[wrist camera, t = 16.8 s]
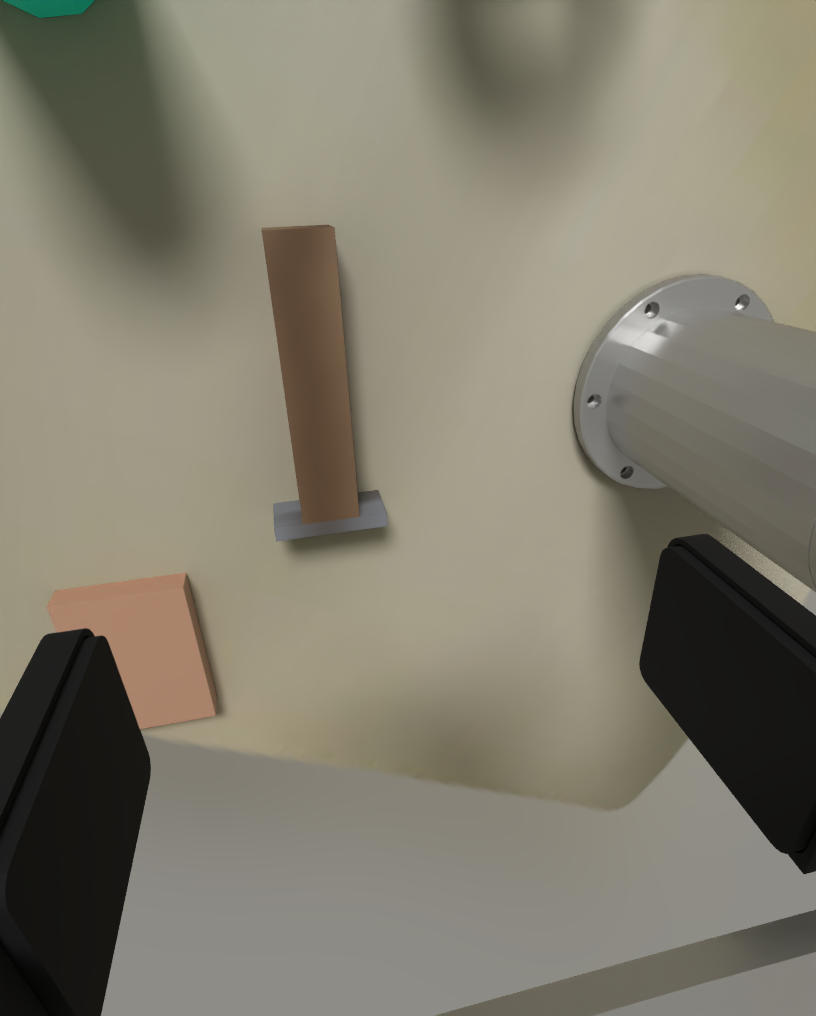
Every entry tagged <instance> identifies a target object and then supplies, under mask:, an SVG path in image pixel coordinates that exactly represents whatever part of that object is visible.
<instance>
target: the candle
mask: <svg viewBox="0 0 816 1016" xmlns="http://www.w3.org/2000/svg"><path fill="white" fill-rule="evenodd" d="M3 1H5V2H7V3H9V4H11V5H13V6H15V7H17V8H19V9H21V10H23V11H26V12H28V13H30V14H32V15H34V16H36V17H38V18H46V17H55V16H65V15H74V14H83V12H84V11H85V10H86V9H87V8H88V7H89V6H90V5H91V4H92V3H93V2H94V1H95V0H3Z"/></svg>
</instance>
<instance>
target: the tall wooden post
mask: <svg viewBox="0 0 816 1016" xmlns="http://www.w3.org/2000/svg"><path fill="white" fill-rule="evenodd" d="M262 235H263V242H264V249H265V257H266V264H267V271H268V278H269V285H270V292H271V299H272V307H273V314H274V321H275V328H276V335H277V342H278V349H279V356H280V364H281V371H282V378H283V385H284V392H285V399H286V406H287V414H288V421H289V428H290V435H291V442H292V449H293V456H294V464H295V471H296V478H297V485H298V492H299V499H300V500H297V501H290V502H282V503H274V504H273V507H274V531H275V537H276V541H284V540H291V539H298V538H305V537H312V536H319V535H327V534H334V533H341V532H348V531H355V530H362V529H369V528H377V527H384V526H388V522H387V512H386V509H385V507H384V504H383V502H382V499H381V497H380V494H379V491H378V490H375V491H367V492H360V493H357V483H356V471H355V460H354V448H353V437H352V425H351V414H350V402H349V391H348V379H347V367H346V356H345V344H344V333H343V321H342V310H341V298H340V287H339V275H338V264H337V252H336V241H335V229H334V227H332V226H330V225H314V226H294V227H274V228H262Z"/></svg>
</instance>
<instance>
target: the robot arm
mask: <svg viewBox="0 0 816 1016" xmlns="http://www.w3.org/2000/svg"><path fill="white" fill-rule="evenodd" d="M645 308H646V309H645ZM589 397H590V398H589ZM588 398H589V399H588ZM573 404H574V424H575V428H576V432H577V436H578V440H579V442H580V444H581V446H582V448H583V450H584V452H585V454H586V455H587V457H588V458H589V459H590V460H591V461H592V463H593V464H594V465H595V466H596V467H597V468H598V469H600V470H601V471H602V472H603V473H605V474H606V475H607V476H608V477H610V478H611V479H613V480H615V481H616V482H618V483H620V484H623V485H627V486H630V487H634V488H638V489H660V488H667V487H669V488H670V489H672V490H673V491H675V492H676V493H677V494H679V495H680V496H682V497H683V498H684V499H686V500H687V501H689V502H690V503H691V504H693V505H694V506H696V507H697V508H698V509H700V510H701V511H703V512H704V513H705V514H707V515H708V516H710V517H711V518H712V519H714V520H715V521H717V522H718V523H719V524H721V525H722V526H724V527H725V528H726V529H728V530H729V531H731V532H732V533H733V534H735V535H736V536H738V537H739V538H740V539H742V540H743V541H745V542H746V543H747V544H749V545H750V546H752V547H753V548H754V549H756V550H757V551H759V552H760V553H761V554H763V555H764V556H766V557H767V558H768V559H770V560H771V561H773V562H774V563H775V564H777V565H778V566H780V567H781V568H782V569H784V570H785V571H787V572H788V573H789V574H791V575H792V576H794V577H795V578H796V579H798V580H799V581H801V582H802V583H803V584H805V585H806V586H808V587H809V588H810V589H812V590H813V591H815V592H816V332H814V331H810V330H806V329H801V328H797V327H793V326H789V325H785V324H781V323H777V322H774V319H773V318H772V316H771V314H770V312H769V310H768V308H767V306H766V304H765V303H764V302H763V301H762V300H761V298H760V297H759V296H758V295H757V294H756V293H755V292H754V291H753V290H751V289H750V288H748V287H746V286H745V285H743V284H742V283H740V282H737V281H734V280H731V279H727V278H724V277H720V276H712V275H705V274H698V275H685V276H680V277H676V278H673V279H670V280H666V281H663V282H661V283H659V284H657V285H655V286H653V287H651V288H649V289H647V290H645V291H643V292H642V293H640V294H639V295H637V296H636V297H635V298H633V299H632V300H631V301H629V302H628V303H627V304H625V305H624V306H623V307H622V308H621V309H620V310H619V311H618V312H617V313H616V314H615V315H614V316H613V317H612V318H611V319H610V320H609V321H608V322H607V324H606V325H605V327H604V328H603V329H602V331H601V332H600V334H599V335H598V336H597V338H596V339H595V340H594V342H593V344H592V346H591V348H590V350H589V352H588V354H587V356H586V358H585V360H584V362H583V364H582V368H581V371H580V374H579V377H578V380H577V383H576V390H575V397H574V403H573ZM639 665H640V671H641V674H642V677H643V679H644V680H645V682H646V683H647V685H648V686H649V687H650V689H651V690H652V691H653V692H654V694H655V695H656V696H657V698H658V699H659V700H660V701H661V703H662V704H663V705H664V707H665V708H666V709H667V710H668V712H669V713H670V714H671V716H672V717H673V718H674V719H675V721H676V722H677V723H678V725H679V726H680V727H681V728H682V730H683V731H684V732H685V734H686V735H687V736H688V737H689V739H690V740H691V741H692V742H693V744H694V745H695V746H696V748H697V749H698V750H699V752H700V753H701V754H702V755H703V757H704V758H705V759H706V761H707V762H708V763H709V764H710V766H711V767H712V768H713V769H714V771H715V772H716V773H717V775H718V776H719V777H720V778H721V780H722V781H723V782H724V784H725V785H726V786H727V787H728V789H729V790H730V791H731V793H732V794H733V795H734V796H735V798H736V799H737V800H738V802H739V803H740V804H741V805H742V807H743V808H744V809H745V811H746V812H747V813H748V814H749V816H750V817H751V818H752V820H753V821H754V822H755V823H756V825H757V826H758V827H759V829H760V830H761V831H762V832H763V834H764V835H765V836H766V838H767V839H768V840H769V841H770V843H771V844H772V845H773V846H774V847H775V848H776V849H778V850H779V851H780V852H782V853H785V854H788V855H789V856H790V857H791V859H792V860H793V861H794V862H795V864H796V865H797V866H798V868H799V869H800V870H801V871H802V873H803V874H807V873H811V872H814V871H816V616H815V615H814V614H813V613H812V612H810V611H808V610H807V609H806V608H805V607H804V606H802V605H801V604H800V603H798V602H797V601H796V600H794V599H793V598H792V597H791V596H789V595H788V594H787V593H785V592H784V591H783V590H781V589H780V588H779V587H777V586H776V585H775V584H773V583H772V582H771V581H770V580H768V579H767V578H766V577H764V576H763V575H762V574H760V573H759V572H758V571H756V570H755V569H754V568H752V567H751V566H750V565H749V564H747V563H746V562H745V561H743V560H742V559H741V558H739V557H738V556H737V555H735V554H734V553H733V552H731V551H730V550H729V549H728V548H726V547H725V546H724V545H722V544H721V543H720V542H718V541H717V540H716V539H714V538H713V537H711V536H710V535H708V534H700V535H693V536H687V537H680V538H675V539H673V540H671V542H670V543H669V545H668V548H665V549H664V550H663V551H662V553H661V556H660V560H659V565H658V570H657V575H656V580H655V585H654V591H653V596H652V601H651V606H650V611H649V616H648V621H647V626H646V631H645V636H644V641H643V646H642V651H641V656H640V663H639ZM150 766H151V765H150V757H149V753H148V750H147V747H146V745H145V742H144V739H143V736H142V734H141V731H140V728H139V725H138V723H137V720H136V717H135V714H134V711H133V709H132V706H131V703H130V700H129V698H128V695H127V692H126V689H125V687H124V684H123V681H122V678H121V676H120V673H119V670H118V667H117V665H116V662H115V659H114V656H113V654H112V651H111V648H110V645H109V643H108V641H107V639H106V637H105V636H102V635H101V636H94V634H93V632H92V631H91V630H90V629H88V628H84V629H77V630H71V631H64V632H57V633H51V634H47V635H45V636H44V637H43V638H42V640H41V641H40V643H39V645H38V647H37V649H36V651H35V653H34V655H33V656H32V658H31V660H30V662H29V664H28V666H27V668H26V670H25V672H24V674H23V676H22V678H21V680H20V681H19V683H18V685H17V687H16V689H15V691H14V693H13V695H12V697H11V699H10V701H9V703H8V705H7V707H6V708H5V710H4V712H3V714H2V716H1V718H0V1016H101V1012H102V1007H103V1002H104V997H105V993H106V988H107V983H108V978H109V974H110V969H111V963H112V959H113V954H114V949H115V945H116V940H117V935H118V930H119V925H120V920H121V915H122V911H123V906H124V901H125V896H126V892H127V887H128V881H129V877H130V872H131V867H132V863H133V858H134V853H135V848H136V843H137V839H138V834H139V829H140V824H141V819H142V814H143V810H144V805H145V800H146V795H147V790H148V785H149V781H150V771H151V767H150ZM436 1016H816V910H814V911H810V912H806V913H803V914H799V915H796V916H792V917H788V918H784V919H781V920H777V921H774V922H770V923H766V924H762V925H759V926H755V927H751V928H748V929H744V930H741V931H737V932H733V933H729V934H726V935H722V936H718V937H715V938H711V939H707V940H704V941H700V942H696V943H693V944H689V945H685V946H682V947H678V948H675V949H671V950H668V951H664V952H660V953H657V954H653V955H650V956H647V957H643V958H639V959H635V960H632V961H628V962H624V963H621V964H618V965H614V966H610V967H606V968H603V969H600V970H596V971H592V972H588V973H585V974H581V975H578V976H574V977H571V978H567V979H563V980H560V981H557V982H553V983H549V984H546V985H542V986H538V987H535V988H532V989H528V990H524V991H521V992H517V993H514V994H510V995H506V996H503V997H499V998H496V999H492V1000H488V1001H485V1002H482V1003H478V1004H474V1005H471V1006H467V1007H463V1008H460V1009H456V1010H453V1011H450V1012H446V1013H442V1014H439V1015H436Z"/></svg>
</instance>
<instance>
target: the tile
mask: <svg viewBox="0 0 816 1016" xmlns="http://www.w3.org/2000/svg"><path fill="white" fill-rule="evenodd" d="M47 609H48V611H49V614H50V616H51V619H52V621H53V624H54V626H55V629H56V631H57V632H64V631H71V630H77V629H84V628H88V629H90V630H91V631H92V632H93V634H94V636H101V635H102V636H105V637H106V639H107V641H108V643H109V645H110V648H111V651H112V654H113V656H114V659H115V662H116V665H117V667H118V670H119V673H120V676H121V678H122V681H123V684H124V687H125V689H126V692H127V695H128V698H129V700H130V703H131V706H132V709H133V711H134V714H135V717H136V720H137V723H138V725H139V728H140V729H144V728H150V727H155V726H161V725H166V724H172V723H177V722H183V721H189V720H194V719H200V718H205V717H211V716H216V708H217V695H216V691H215V687H214V683H213V679H212V674H211V670H210V666H209V662H208V658H207V654H206V650H205V646H204V642H203V638H202V634H201V630H200V626H199V622H198V618H197V614H196V610H195V606H194V602H193V598H192V594H191V590H190V586H189V582H188V578H187V574H186V573H181V574H173V575H166V576H159V577H151V578H144V579H137V580H129V581H122V582H115V583H107V584H100V585H93V586H85V587H78V588H71V589H63V590H56V591H55V592H54V594H53V596H52V598H51V600H50V602H49V604H48V606H47Z"/></svg>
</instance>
